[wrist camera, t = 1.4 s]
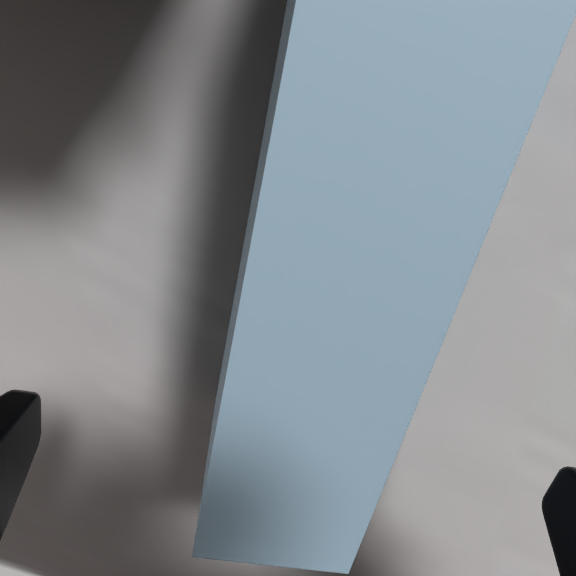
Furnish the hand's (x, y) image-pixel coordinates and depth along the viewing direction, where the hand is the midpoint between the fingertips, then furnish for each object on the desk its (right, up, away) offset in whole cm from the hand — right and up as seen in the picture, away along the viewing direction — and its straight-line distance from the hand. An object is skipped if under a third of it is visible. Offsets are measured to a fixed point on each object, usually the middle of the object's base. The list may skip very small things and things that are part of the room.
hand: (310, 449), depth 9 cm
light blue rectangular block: (0, +5, +3) cm, 6 cm away
